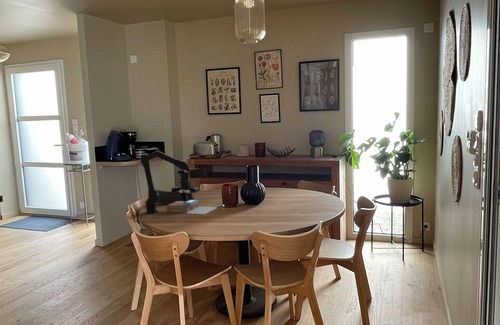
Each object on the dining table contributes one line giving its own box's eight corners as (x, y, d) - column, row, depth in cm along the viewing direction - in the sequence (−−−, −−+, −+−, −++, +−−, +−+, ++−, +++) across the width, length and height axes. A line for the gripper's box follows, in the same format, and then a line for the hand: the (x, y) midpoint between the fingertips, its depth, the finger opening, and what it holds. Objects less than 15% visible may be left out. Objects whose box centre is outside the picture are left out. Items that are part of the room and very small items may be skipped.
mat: (204, 214, 258) (204, 214, 258) (185, 213, 264) (185, 212, 264) (217, 207, 274) (217, 207, 274) (199, 206, 280) (199, 206, 280)
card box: (190, 206, 266) (190, 202, 266) (183, 205, 269) (183, 202, 268) (198, 202, 274) (197, 200, 274) (190, 202, 277) (190, 199, 277)
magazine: (197, 190, 295) (157, 180, 294) (197, 190, 292) (156, 181, 291) (192, 212, 297) (152, 202, 296) (191, 213, 294) (151, 203, 293)
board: (187, 212, 265) (186, 206, 265) (167, 211, 272) (166, 205, 271) (198, 207, 278) (197, 201, 278) (178, 206, 285) (178, 200, 284)
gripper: (202, 177, 275) (204, 200, 277) (179, 177, 282) (180, 199, 284) (194, 180, 265) (195, 203, 267) (170, 180, 272) (172, 202, 274)
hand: (186, 202), depth 273 cm, fingers closed
